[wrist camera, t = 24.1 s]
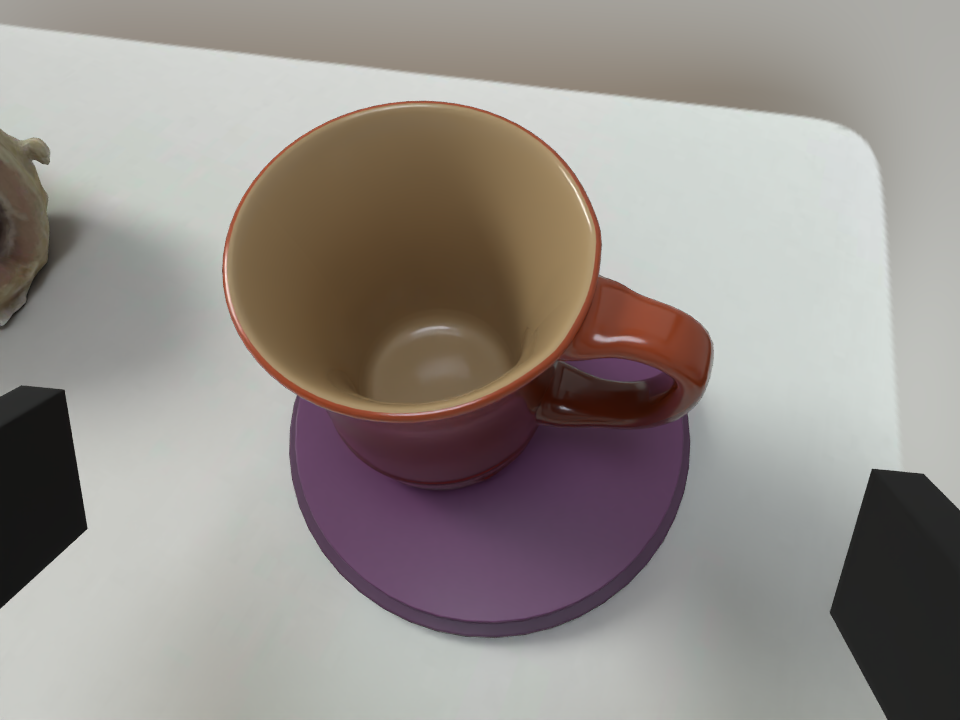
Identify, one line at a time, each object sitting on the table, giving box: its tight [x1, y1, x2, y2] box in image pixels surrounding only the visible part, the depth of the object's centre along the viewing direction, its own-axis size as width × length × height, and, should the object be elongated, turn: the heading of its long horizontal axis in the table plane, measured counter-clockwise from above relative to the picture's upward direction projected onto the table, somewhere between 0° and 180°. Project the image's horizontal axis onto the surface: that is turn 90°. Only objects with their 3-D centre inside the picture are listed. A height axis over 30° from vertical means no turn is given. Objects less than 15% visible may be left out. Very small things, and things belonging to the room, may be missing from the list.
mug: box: [222, 101, 714, 490], centre depth 20 cm, size 12×9×10 cm
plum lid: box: [289, 358, 690, 638], centre depth 26 cm, size 15×15×1 cm
